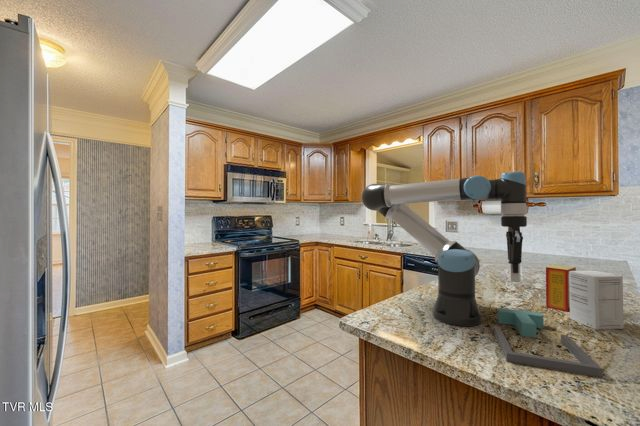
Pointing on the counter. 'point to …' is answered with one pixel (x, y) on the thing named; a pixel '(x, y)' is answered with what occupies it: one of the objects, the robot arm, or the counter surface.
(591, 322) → the supplement box
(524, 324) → the t block
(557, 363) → the frame
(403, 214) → the robot arm
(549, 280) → the baking soda box
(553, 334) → the counter surface
